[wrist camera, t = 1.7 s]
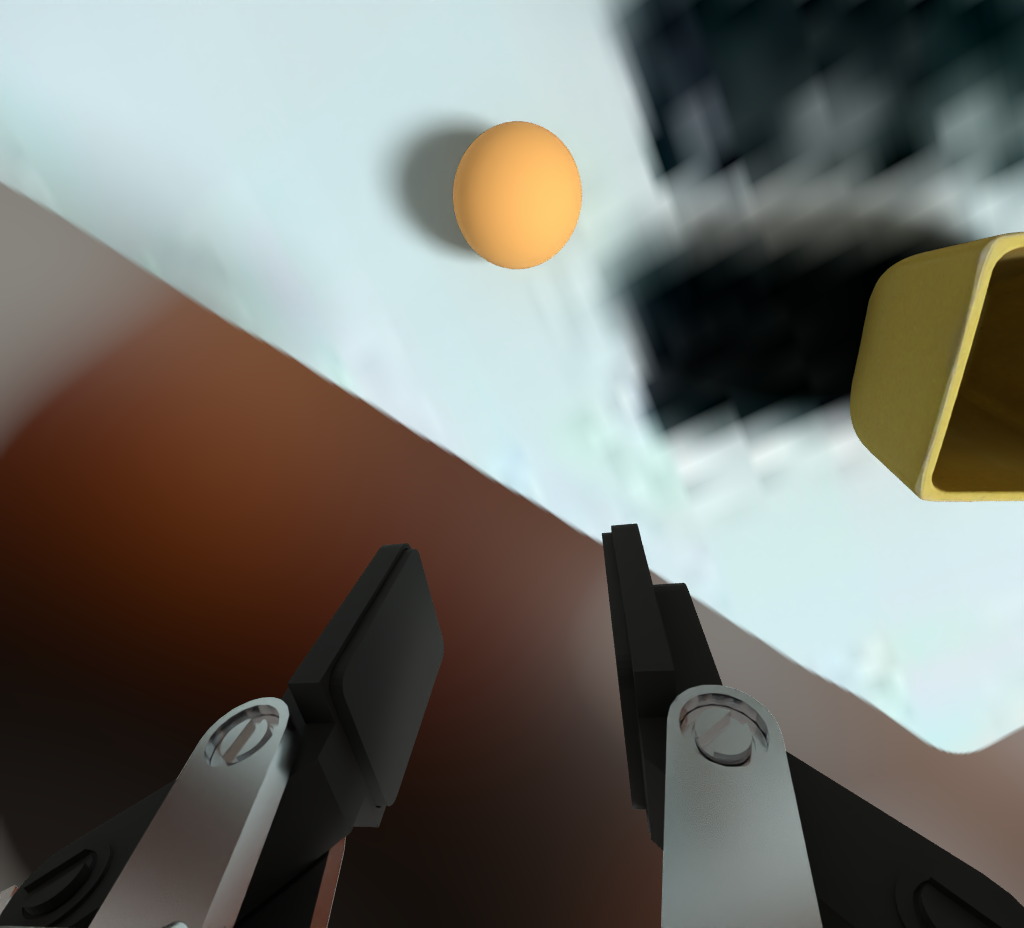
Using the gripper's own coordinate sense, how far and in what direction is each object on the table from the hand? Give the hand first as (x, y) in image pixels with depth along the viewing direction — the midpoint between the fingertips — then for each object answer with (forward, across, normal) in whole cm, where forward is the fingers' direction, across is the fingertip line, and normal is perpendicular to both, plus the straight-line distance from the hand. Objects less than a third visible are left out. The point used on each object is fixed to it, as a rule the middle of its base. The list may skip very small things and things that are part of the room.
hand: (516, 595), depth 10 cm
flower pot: (+18, -18, 0) cm, 25 cm away
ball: (+15, 0, -10) cm, 17 cm away
